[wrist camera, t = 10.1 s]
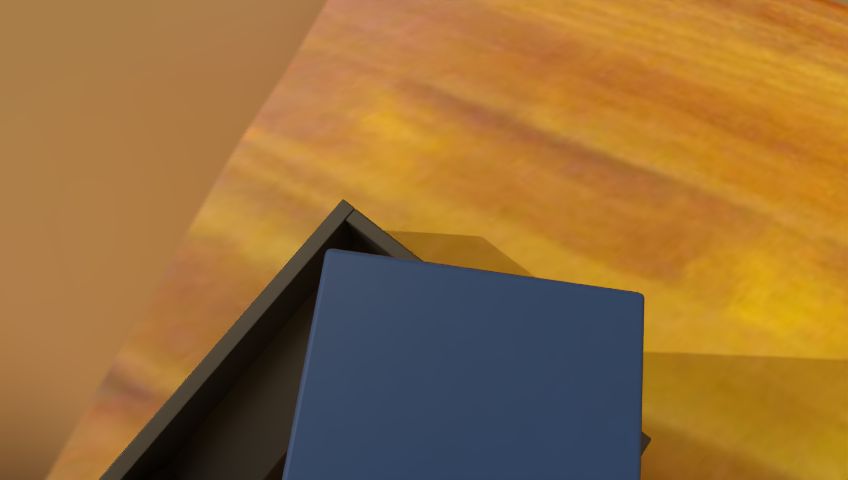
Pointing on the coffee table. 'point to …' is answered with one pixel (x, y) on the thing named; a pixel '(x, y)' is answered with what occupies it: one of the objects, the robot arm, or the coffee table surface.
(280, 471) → the robot arm
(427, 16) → the coffee table surface
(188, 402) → the dark open-top box
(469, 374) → the blue block
